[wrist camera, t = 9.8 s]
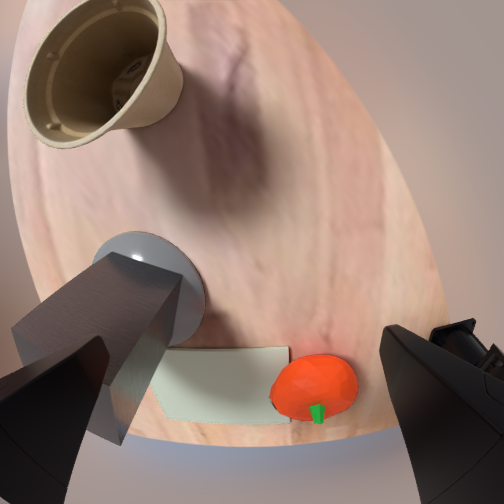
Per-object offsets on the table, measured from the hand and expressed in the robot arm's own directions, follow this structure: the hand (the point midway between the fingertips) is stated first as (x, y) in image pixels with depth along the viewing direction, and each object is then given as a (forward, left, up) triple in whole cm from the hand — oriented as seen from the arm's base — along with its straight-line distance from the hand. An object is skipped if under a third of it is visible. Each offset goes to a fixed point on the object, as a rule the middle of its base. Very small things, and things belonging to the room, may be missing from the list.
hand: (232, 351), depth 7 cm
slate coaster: (+10, +5, -13) cm, 17 cm away
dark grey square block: (+10, +5, -12) cm, 17 cm away
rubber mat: (+5, +17, -13) cm, 22 cm away
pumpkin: (-4, +14, -13) cm, 19 cm away
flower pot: (+7, -12, -13) cm, 19 cm away
